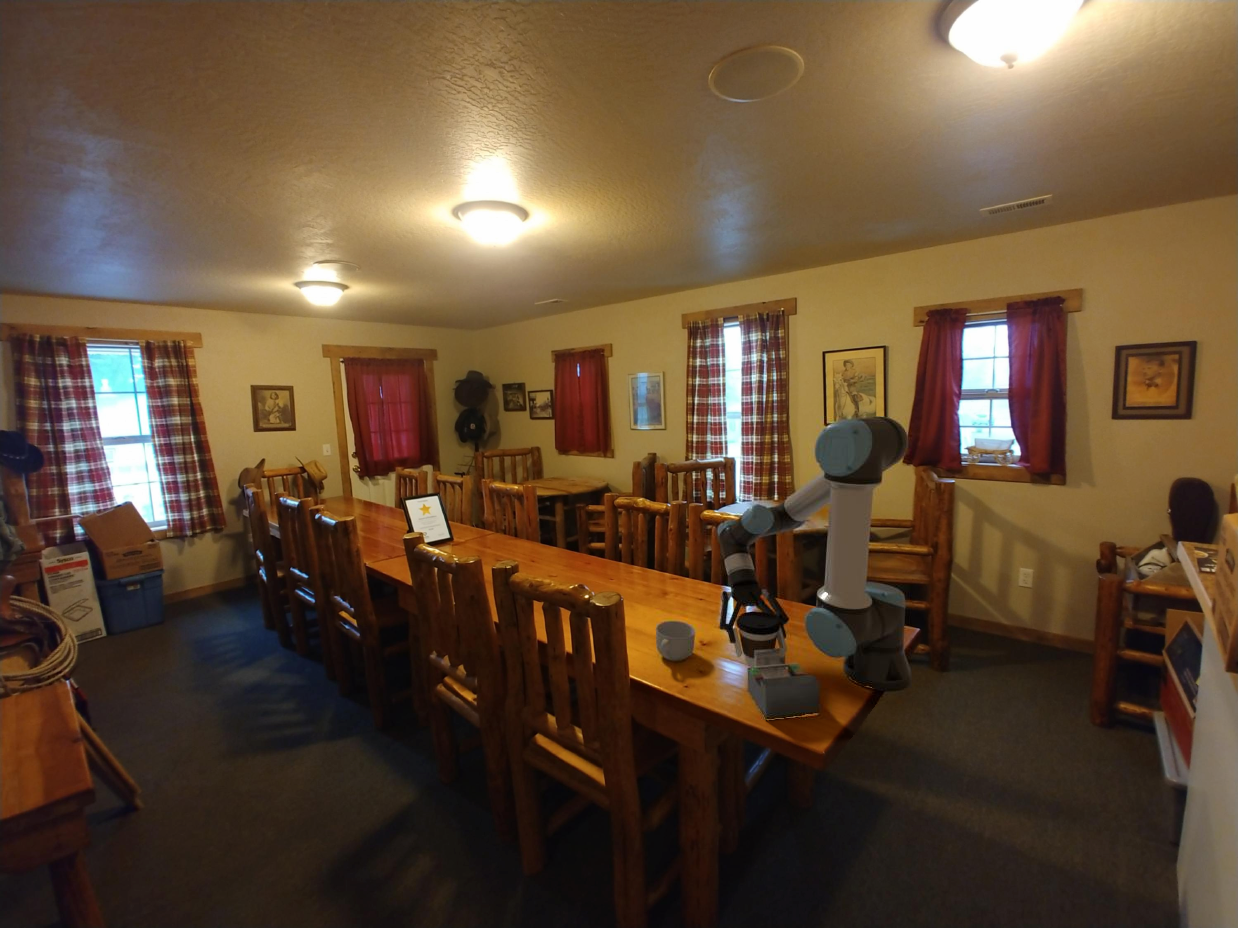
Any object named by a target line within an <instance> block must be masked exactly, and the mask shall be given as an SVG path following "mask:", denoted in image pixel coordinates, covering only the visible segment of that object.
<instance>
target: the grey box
mask: <svg viewBox="0 0 1238 928" xmlns="http://www.w3.org/2000/svg"><path fill="white" fill-rule="evenodd" d="M787 670H788V672H789V673H790V674H791V675H792V677H781V678H771V679H763V676H762V675H761V673H760V672H759V670H752V668H751V667H747V692H749V693H750V694H749V693H748V694H749V696H750V695H751V696H750V697H752V698H753V699H752V698H751V699H752V700H754V701H755V703H756V704H755V703H754V704H755V706H756V705H757V706H758V708H759V709H760V711H761V712H762V714H763V715H764V717H765V719H775V718H786V717H793V716H802V715H805V714H813V713H819V711H820V710H819V708H820V707H819V706H820V705H819V704H820V703H819V701H820V681H818V679H817V678H816V677H815V676H814V674H807V675H806V672H805V671H804V670H803V669H802V668H801V666H799V664H798V666H791V667H787ZM754 701H753V702H754ZM757 706H756V707H757ZM758 708H757V709H758ZM759 709H758V710H759ZM760 711H759V712H760ZM761 712H760V713H761ZM762 714H761V715H762ZM764 717H763V718H764ZM765 719H764V720H765Z"/></svg>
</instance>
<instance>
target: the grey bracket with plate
mask: <svg viewBox="0 0 1238 928" xmlns="http://www.w3.org/2000/svg"><path fill="white" fill-rule="evenodd" d="M754 660H755V666H754V667H752V670H759V672H760V673H761V675H762V676H763V679H771V678H781V677H792V675H791V674H790V673H789V672H788V667H791V666H798V665H799V664H798V662H789V663H786V652H785V649H784V648H780V647H779V648H777V647H775V649H765V650H754Z"/></svg>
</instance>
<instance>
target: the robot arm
mask: <svg viewBox="0 0 1238 928" xmlns="http://www.w3.org/2000/svg"><path fill="white" fill-rule="evenodd" d="M908 449H909V437H908V433H907V431H906V430H905V428H904V426H903V425H902V424H901V423H899V422H898V421H897V420H894V419H893V418H890V417H887V416H871V417H859V418H857V417H856V418H845V419H841V420H837V421H833V422H832V423H830V424H828V425H826V427H825V428H824V429H822V430H821V432H820V433H819V435H818V436H817V438H816V441H815V444H814V456H815V457H814V458H815V461H816V463H818V464H819V465H818V467H819V468H820V470H822V471H821V472H819V473H818V474H817V475H816V476H814V477H813V478H811V480H809V481H808V482H807V483H805V484H804V485H802V487H800V488H799V489H797V491H794V493H792V494H791V495H790V496H788V498H786V499H784V501H783V500H782V502H781V503H779V504H777V505H774V506H770V507H767V506H765V505H762V504H759V503H757V504H753V505H751V506H750V507H749V508H747V509H746V510H745V511H744V512H743V513H742V514H741V515H740V517H739V518H737V520H735V519H730V520H725V521H724V522H722V523H720V524H719V525H718V526H717V530H716V531H717V537H718V539H717V540H718V543H719V546H720V549H721V554H722V558H723V560H724V566H725V570H726V574H727V575H728V577H727V578H728V582H729V585H730V587H729V588H730V591H728V592H727V591H726V590H723V591H722V592H721V595H720V599H721V604H722V605H721V610H720V619H719V629H720V630H724V631H725V632H726V633H727V635H728V638H729V639H728V640H729V643H730V644H733V645H734V649H735V654H736V657H737V658H741V657H742V655H744V653H743V651H742V645H741V640H740V636H739V633H738V629H737V628H738V627H735V628H734V625H735V623H736V620H737V619H738V615H739V613H740V610H741V607H742V608H747V607H756V608H757V609H759V610H760V612H764V613H768V614H771V615H773V616H775V617H776V618H777V619H778V622H779V623H780V629H779V631H778V632H777V639H776V641H777V644H778V647H779V648H784V649H785V653H786V652H787V650H788V648H787V645H786V640H785V639H786V638H787V633H786V629H785V626H784V625H787V624H788V622H789V621H790V618H789V615H787V614H786V612H785V610H784V609H783V607H782V605H781V604H780V603H779V601H778V600H777V598H776V597H775V595H774V592H773V588H771V587H767V588H766V589H762V588H761V587H760V585H759V582H758V581H759V580H758V577H757V574H756V571H755V567H754V564H753V560H752V556H751V553H750V550H749V547H750V546H752V545H753V544H754V543H755V542H756V541H757V540H758V539H760V538H763V537H766V536H767V537H768V536H770V535H771V536H773V535H775V534H779V533H784V532H787V531H794V530H796V529H798V528H801V527H802V526H804V524H805V523H806V520H807V519H808V518H810V517H811V516H813V515H814V514H815V513H816V512H818V511H820V510H822V509H823V508H825V506H827V505H828V504H829V508H828V510H829V511H828V524H827V525H828V526H827V541H826V555H825V559H826V560H825V573H824V576H825V577H824V585H823V586H821V588H820V587H819V589H818V590H817V592H816V605H815V607H812V608H811V609H810V610H809V611H808V612H807V613H806V615H805V619H804V627H805V631H806V633H807V636H808V638H809V639H810V641H811V642H812V643H813V645H814V647H816V648H817V649H818V651H820V652H821V653H822V654H824V655H826V656H827V657H831V658H835V659H841V658H843V660H842V661H843V664H842V671H843V670H844V671H843V673H844V672H845V673H844V675H845V674H846V675H847V676H848V677H850V678H851V679H852V680H854V681H856V682H857V683H859V684H861V685H863V686H869V687H872V688H874V689H875V690H874V691H879V692H889V693H890V692H901V691H904V690H906V689H907V688H908V687H910V686H911V683H912V672H911V671H912V670H911V668H910V664H909V662H908V659H907V656H906V654H905V653H906V652H905V649H904V647H905V625H906V624H905V623H906V621H905V620H906V619H905V617H906V616H905V615H906V599H905V598H906V597H905V594H904V593H903V591H901V590H900V589H899V588H896V587H894V586H892V585H888V584H885V583H879V582H874V581H867V574H868V562H869V548H870V537H871V536H870V535H871V522H872V509H873V497H874V496H873V495H874V490H875V489H876V488H877V487H878V486H880V485H881V484H882V483H883V472H885V471H887V470H888V469H890V468H892V467H893V466H895V465H896V464H898V463H899V462H901V460H903V458H904V457H905V455H906V453H907V452H908ZM761 596H764V598H765V599H766V600H767V602H768V603H769V605H770V606H768V604H767V603H766V601H765V600H764V599H763V598H762V597H761ZM731 598H732V599H733V601H735V602H736V603H735V606H734V609H733V611H732V614H731V616H730V619H729V622H728V623H727V617H728V609H729V602H730V599H731ZM846 675H845V676H846ZM847 676H846V677H847ZM848 677H847V678H848ZM852 680H851V681H852ZM859 684H858V685H859ZM861 685H860V686H861ZM863 686H862V687H863Z"/></svg>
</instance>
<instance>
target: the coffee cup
mask: <svg viewBox="0 0 1238 928" xmlns="http://www.w3.org/2000/svg"><path fill="white" fill-rule="evenodd" d="M735 623H736V628H738V631H739V633H738V634H739V640H740V645H741V649H742V653H743V657H744V661H745V663H746V665H747V666H748V668H752V667H754V666H755V660H754V650H765V649H776V646H777V645H776V644H777V632H778V631H779V629H780V623H779V622H778V619H777V618H776V617H775V616H773V615H771V614H768V613H764V612H762V611H756V610H755V611H753V610H751V611H746V612H743V613H741V614H740V615H739V616H737V618H736V621H735Z"/></svg>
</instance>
